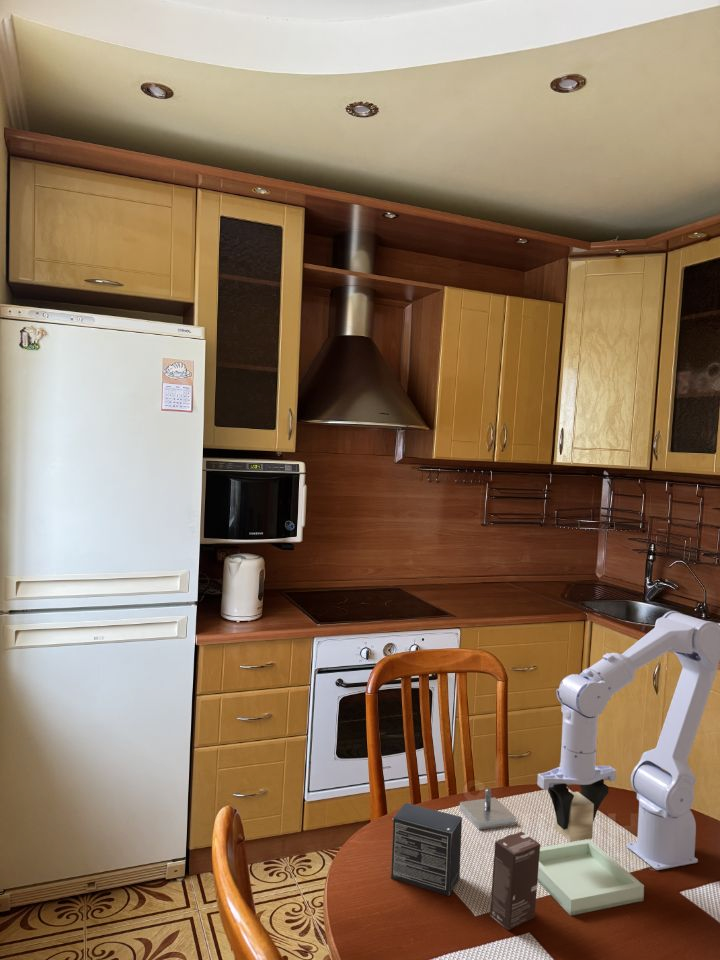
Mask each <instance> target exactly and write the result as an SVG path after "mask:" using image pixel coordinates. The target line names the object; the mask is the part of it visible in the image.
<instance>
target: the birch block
mask: <svg viewBox="0 0 720 960" xmlns="http://www.w3.org/2000/svg"><path fill="white" fill-rule="evenodd" d="M570 793H572V794H573V795H574V798H573V800H572V803H571V806H570V811H569V823H568V828H567V829H565V830H564V829H562V828H561V827H560V826H559V825H558V824H557V819H556V814H555V813H554V829H555V830H556V832H558V833H559V834H560V835H561V836H562V837H563V838H564V839H566V840H567V841H568V843H570V842H576V841H582V840H588V839H590V840H591V839H593V832H594V822H593V811H594V804H593V803H592V802H591V801H589V800H588V799H587V798H585V797H584V796H583V795H582V794H581V793H580V791H573V792H570Z"/></svg>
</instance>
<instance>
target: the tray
mask: <svg viewBox="0 0 720 960" xmlns="http://www.w3.org/2000/svg"><path fill="white" fill-rule="evenodd" d="M537 883H539V884H540V885H541V886H542V888H544V889H545V890H546V892H547V893H548V894H549V895H550V896H551V897H552V898H553V899H554V900H555V901H556V902H557V903H558V904H559V905H560V907H562V909H564V911H565V912H567V914H568V915H569V916H575V915H581V914H586V913H590V912H594V911H601V910H604V909H610V908H614V907H618V906H619V907H620V906H623V905H624V906H625V905H629V904H633V903H639V902H644V896H645V894H644V893H645V885H644V884H643V883H642V882H640V881H639V879H637V878H636V877H634V875H633V874H631V872H629V871H627V869H625V868H624V867H623V866H622V865H620V864H619V863H618V861H616V860H615V859H613V858H612V857H611V856H610V855H608V854H607V852H605V851H604V850H602V848H601V847H599V845H597V844H596V843H594V842H593V841H592V840H591V839H586V840H580V841H573V842H567V843H566V842H565V843H559V844H552V845H547V846H540V854H539V867H538V880H537Z"/></svg>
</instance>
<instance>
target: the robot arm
mask: <svg viewBox="0 0 720 960" xmlns="http://www.w3.org/2000/svg"><path fill="white" fill-rule="evenodd" d="M668 652H672V653H673V654H675V656H676V657H677V659H678V661H679V663H680V664H681V667H682V669H681V671H680V675H679V678H678V681H677V684H676V687H675V690H674V692H673V696H672V699H671V702H670V704H669V708H668V710H667V714H666V717H665V720H664V722H663V725H662V729H661V731H660V734H659V738H658V740H657V744H656V747H655V748H652V749H650V750H646V751H645V752H643V753H642V754H641V757H640V760H639V762H638V763H637V764H636V765H635V766H634V767H633V770H632V772H631V775H630V785H631V788H632V790H634V792H635V793H636V800H638V819H637V821H638V822H637V839H636V840H637V841H633V842H626V844H625V847H627V848H628V850H630V851H632V853H634V854H636V855H637V857H639V858H640V859H642V860H643V862H645V863H647V864H648V866H650V867H652V869H654V870H656V871H659V870H665V869H670V868H676V867H680V866H686V865H687V866H688V865H691V864H696V863H698V862H699V859H698V858H697V857H695V851H696V835H697V834H696V833H697V824H696V819H695V816H694V814H693V812H692V810H691V808H692V807H693V804H694V799H695V790H694V789H695V785H696V781H697V778H696V776H695V774H694V772H693V770H692V768H691V767H690V765H689V763H688V760H689V756H690V753H691V751H692V747H693V745H694V742H695V739H696V735H697V732H698V729H699V726H700V723H701V720H702V717H703V714H704V712H705V710H706V705H707V702H708V699H709V697H710V694H711V691H712V688H713V685H714V682H715V678H716V675H717V672H718V668H719V663H720V626H719V624H718V623H716V622H714V621H710V620H704V619H700V618H697V617H693V616H691V615H687V614H684V613H681V612H679V611H675V610H671V611H667V612H665V613H664V615H662V616H661V617H658V618H656V621H655V624H654V628H652V629H651V630H650V631H649V632H647V633H646V634H645V635H643V637H640V639H639V640H637V641H636V642H635V643H634V644H632V646H630V647H629V648H627V649H626V650H625V651H624V652H623V653H621V654H620V653H617V652H611V653H610V652H607V653H605V654H603V655H602V658H601V659H600V660H599V661H597V662H595V663H594V664H592V665H591V666H590V667H587V668H585V669H583V670H582V672H580V673H579V674H577V673H575V674H574V673H572V674H570V675H566V676H565V677H563V679H562V680H561V681H560V683H559V687H558V688H557V689H556V690H555V692H556V698H557V700H558V702H559V703H560V705H561V706H560V707H561V710H560V711H561V713H562V727H561V728H562V729H561V750H560V762H559V766H558V767H556V768H552V769H551V770H548V771H545V772H541V773H540V772H539V773H538V774H537V781H536V782H537V786H538V787H540V789H542V790H543V791H548V794H549V796H550V798H551V801H552V804H553V809H554V815H555V814H556V819H557V824H558V825H559V826H560V827H561V828H562V829H564V830H565V829H567V828H568V823H569V811H570V806H571V803H572V800H573V798H574V795H573V794H572V793H571V792H570V791H569V788H568V786H572V785H580V792H581V793H580V794H582V795H583V796H584V797H585V798H587V799H588V800H589V801H591V802H592V803H593V804H594V811H593V823H594V821H595V818H596V815H597V812H598V810H599V807H600V806H601V803H602V802H603V800H604V798H606V797H607V795H608V794H609V789H610V788H609V786H608V785H607V784H606V783H605V781H609V782H616V780H617V770H616V769H615V768H613V767H612V766H611V765H597V764H596V763H597V760H596V758H597V743H598V742H597V739H598V737H597V736H598V721H599V715H601V714H603V712H604V710H605V709H606V707H607V704H608V702H610V700H611V698H612V696H614V695H615V694H616V693H618V692H619V691H621V690H622V689H623V688H625V687H626V686H628V685H629V684H631V683H632V682H633V681H634V680H635V674H636V671H638V670H639V669H640V668H642V667H644V666H645V665H647V664H650V663H651V662H653V661H655V660H656V659H658V658H659V657H661V656H663V655H665V654H666V653H668Z"/></svg>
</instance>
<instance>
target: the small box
mask: <svg viewBox="0 0 720 960" xmlns="http://www.w3.org/2000/svg"><path fill="white" fill-rule="evenodd" d="M462 822H463V817H462V816H459V815H455V814H450V813H447V812H444V811H440V810H435V809H432V808H427V807H423V806H419V805H416V804H411V803H408V802H405V803H404V804H403V805H402V806H401V807H400V809H399V810H398V811H397V812H396V814H394V816H393V817H392V823H393V824H392V847H391V850H392V851H391V852H392V853H391V873H390V879H392V880H395V881H398V882H399V881H400V882H403V883H405V884H409V885H411V886H414V887H415V886H416V887H419V888H422V889H425V890H428V891H432V892H435V893H438V894H441V895H444V896H447V897H449V896H451V895H452V892H453V890H454V888H455V886H456V885H457V883H458V881H460V880H459V879H460V877H461V876H460V875H461V856H462V855H461V853H462V851H461V850H462V849H461V848H462V847H461V846H462V832H463V831H462V828H463V827H462V825H463V823H462Z"/></svg>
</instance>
